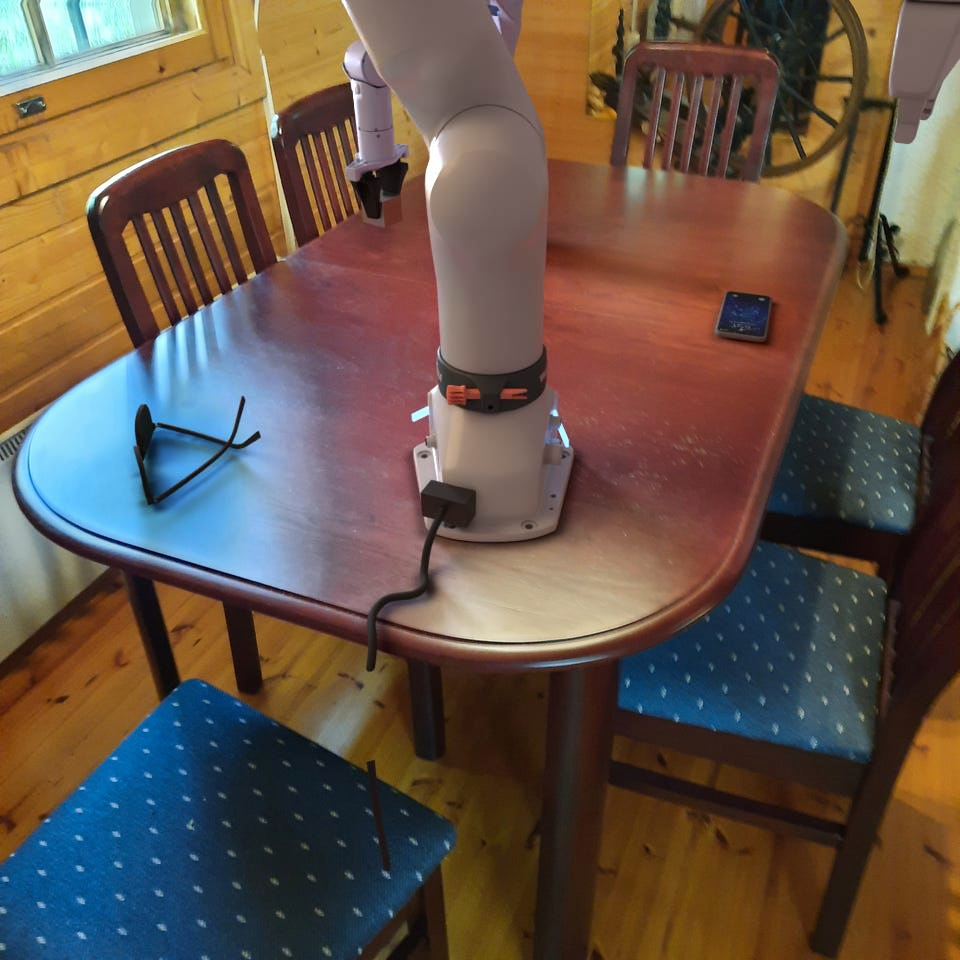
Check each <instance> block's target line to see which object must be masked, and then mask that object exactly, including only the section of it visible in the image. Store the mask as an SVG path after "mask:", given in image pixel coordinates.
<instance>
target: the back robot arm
mask: <svg viewBox="0 0 960 960" xmlns="http://www.w3.org/2000/svg"><path fill="white" fill-rule="evenodd" d="M524 1H525V0H486V3H487V5H488V8H489V10H490V12H491V15H492V17H493V19H494V21H495V23H496V25H497V28H498V30H499V32H500V34H501V36H502V38H503V40H504V42H505V44H506V46H507V48H508V50H509V53H510V55H511V57H512V59H513V60H514V56H515V53H516V50H517V45H518V42H519V39H520V35H521V30H522V8H523V5H524ZM341 66H342V67H341V68H342V70H343V72H344V74H345V75H346V77H347V78H348V79H349V81H350V86H351V87H350V88H351V91H352V96H353V103H354V104H353V105H354V114H355V116H354V117H355V124H356V132H357V134H356V135H357V142H358V143H357V145H358V151H357V152H356V153H354V157H355V159H354V160H353V161H352V162H351V163H350V164H349V165H347V166H345V167H344V171H345V180H346V181H349V183H350V184H351V185H352V187H353V188H354V190H355V192H356V193H357V195H358V197H359V199H360V202H361V201H362V204H363V207H364V209H365V212H366V215H367V218H371V219H379V217H380V193H381V190H384V191H389V192H393V193H397V194H401V193H402V187H403V184H404V181H405V178H406V175H407V173H408V171H409V163H408V162H405V161H402V159H407V158H410V148H409V144H405V143H395V142H396V141H395V129H394V115H393V106H392V105H393V104H392V92H391V91H392V90H391V88H390V87H389V86H388V85H387V84H386V83H385V82H384V81H383V80H382V79H381V77H380V76H379V75H378V73H377V71H376V69H375V67H374V65H373V63H372V61H371V59H370V57H369V55H368V53H367V51H366V49H365V47H364V45H363V43H362V41H361V39H358V40H354V41H353V42H352V43H350V44H349V46H348V47H347V49H346V51H345V55H344V61H342V62H341ZM375 171H376V172H377V175H378V176H376V174H375V173H374V172H375Z"/></svg>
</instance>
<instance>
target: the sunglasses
mask: <svg viewBox="0 0 960 960" xmlns="http://www.w3.org/2000/svg"><path fill="white" fill-rule="evenodd" d="M245 404H246V398H245V396H244V395H241V396H240V401H239V405H238V408H237V409H238V410H237V413H236V417H235V421H234V425H233V429H232V432H231V435H230V437H229V439H228V440H227V441H226V440H223V439H220V438H217V437H214V436H211V435H208V434H204V433H201V432H198V431H195V430H192V429H188V428H184V427H180V426H176V425H172V424H169V423H164V422H159V421H157V422H153V418H152V414H151V411H150V408H149V406H148V404H146V403H142V404H140V405H139V406H138V409H137V411H136V413H135V418H134V436H135V444H136V445H133V447H132V448H133V452H134V455H135V460H136V463H137V467H138V471H139V475H140V479H141V485H142V489H143V493H144V497H145V500H146V503H147V505H148V506H151V505H154V504H155V501H156V503H157V504H160V503H162V501H164V500H165V499H167V498H168V497H170V496H171V495H172V494H174V493H175V492H177V491H178V490H179V489H181V488H182V487H184V486H185V485H187V484H188V483H189V482H191V481H192V480H193V479H194V478H196V477H197V476H198V475H200V474H202V473H203V472H204V471H205V470H206V469H208V467H210V466H211V465H212V464H213V463H215V462H216V461H217V460H218V459H220V457H222V455H223V454H224V453H225V452H226V451H228V449H229V448H231V449H233V450H242V449H246V448H247V447H249V446H250V445H252V444H254V443H255V442H256V441H258V440H260V439H261V438H262V435H261V432H260V430H256V431H255V432H254V433H253V434H252V435H250V436H249V437H248V438H247V439H246V440H245V441H244V442H241V443H233V442H234V441H235V438H236V435H237V434H238V429H239V426H240V423H241V419H242V415H243V412H244V409H245ZM157 428H160V429H164V430H168V431H172V432H175V433H179V434H183V435H188V436H191V437H195V438H199V439H202V440H205V441H209V442H211V443H215V444H218V445H221V446H223V447H221V449H220V450H219V451H217V452H216V453H215V454H214V455H213V456H212V457H211V458H209V459H208V460H207V461H206V462H204V463H203V464H202V465H200V466H199V467H198V468H196V469H195V470H193V471H192V472H191V473H189V474H188V475H187V476H186V477H184V478H183V479H180V481H178V482H177V483H176V484H174V485H172V486H171V487H169V488H168V489H166V490H165V491H163V492H162V493H161V494H160V495H158V496H157V497H154V495H152V491H151V487H150V484H149V479H148V474H147V470H146V467H145V463H144V461H145V459H146V456H147V453H148V450H149V448H150V445H151V442H152V438H153V435H154V432H155V430H157Z"/></svg>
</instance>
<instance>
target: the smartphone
mask: <svg viewBox="0 0 960 960" xmlns="http://www.w3.org/2000/svg"><path fill="white" fill-rule="evenodd" d="M773 302H774V301H773V298H772V297H771V296H769V295H763V294H756V293H749V292H743V291H734V290H729V291H726V292H725V293H724V295H723V299H722V301H721V306H720V310H719V312H718V317H717V319H716V322H715V328H714V334H715V335H716V336H717V337H718V338H719V337H720V338H725V339H732V340H739V341H747V342H754V343H764V342H765V341H767V338H768V333H769V328H770V318H771V313H772V307H773Z"/></svg>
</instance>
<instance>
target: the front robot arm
mask: <svg viewBox="0 0 960 960" xmlns="http://www.w3.org/2000/svg"><path fill="white" fill-rule="evenodd" d="M341 2H342V4H343V6H344V8H345V10H346V12H347V14H348V16H349V19H350V21H351V22H352V25H353V27H354V28H355V31H356V33H357V35H358V37H359V40H361V41H362V43H363V45H364V47H365V49H366V51H367V53H368V55H369V57H370V59H371V61H372V63H373V65H374V67H375V69H376V71H377V73H378V75H379V76H380V77H381V79H382V80H383V81H384V82H385V83H386V84H387V85H388V86H389V87H390V90H391V91H392V93H393V94H394V95H395V97H396V98H397V100H398V101H399V103H400V104H401V106H402V107H403V108H404V110H405V112H406V114H407V115H408V116H409V118H410V120H411V121H412V122H413V124H414V126H415V127H416V129H417V131H418V132H419V134H420V136H421V137H422V139H423V142H424V144H425V146H426V149H427V151H428V155H429V161H428V164H427V167H426V171H425V176H424V193H425V203H426V214H427V221H428V222H427V223H428V232H429V239H430V247H431V254H432V255H431V256H432V261H433V267H434V273H435V280H436V287H437V288H436V290H437V307H438V327H439V342H440V343H439V344H440V345H439V346H438V348H437V354H436V356H437V358H436V363H435V364H436V376H437V384H436V385H435V387H434V386H433V388H432V389H431V390H430V391H428V392H427V406H424V407H423V408H421V409H419V410H417V411H415V412H413V413H411V421H412V422H416V421H418V420H420V419H423V418H424V417H426V416H428V424H429V435H426V436H425V438H424V442H422V443H419V444H417V445H416V446H415V447H414V448H413V454H412V455H413V457H412V458H413V464H414V470H415V475H416V476H415V477H416V480H417V487H418V492H419V498H420V499H419V500H420V506H421V516H422V517H423V522H424V526H425V529H426V530H427V531H428V532H427V534H426V537H425V540H424V543H423V547H422V553H421V559H420V566H419V579H420V585H419V586H418V587H417V588H414V589H412V590H409V591H407V590H406V591H400V592H399V591H398V592H392V593H388V594H385V595H383V596H381V597H380V598H379V599H378V600H377V601H376V602H375V603H374V604H373V605H372V606H371V608H370V610H369V612H368V615H367V618H366V631H367V655H366V656H367V657H366V665H365V670H366V672H368V673H372V672H373V671H375V669H376V664H377V657H378V656H377V655H378V636H377V633H378V632H377V617H378V614H379V613H380V612H381V611H382V610H383V608H384V607H385V606H387V605H388V604H390V603H394V602H401V601H409V600H414V599H418V598H419V597H421V596H423V595H424V594H425V593H426V592H427V591H428V589H429V586H430V579H429V566H430V559H431V552H432V548H433V544H434V541H435V538H436V535H437V536H440V537H443V538H448V539H452V540H457V541H466V542H477V543H478V542H480V543H500V542H501V543H502V542H503V543H506V542H518V541H527V540H531V539H536V538H539V537H543V536H546V535H548V534H550V533H552V532H554V531H556V530H557V527H558V525H559V520H560V518H561V517H560V516H561V512H562V508H563V504H564V500H565V497H566V492H567V488H568V483H569V480H570V476H571V472H572V469H573V468H572V467H573V464H574V459H575V450H574V447H573V446H571V445H570V439H569V438H568V435H567V433H566V430H565V428H564V426H563V424H562V416H559V392H557V391H556V390H555V389H554V388H553V387H552V386H551V385H550V384H549V383H548V382H547V379H548V367H549V361H548V356H547V355H548V354H547V353H548V351H547V347H546V345H545V344H544V323H545V322H544V321H545V287H546V286H545V284H546V283H545V282H546V281H545V280H546V263H547V240H548V216H549V194H550V193H549V192H550V191H549V190H550V189H549V188H550V185H549V184H550V183H549V168H548V167H549V166H548V165H549V164H548V157H547V141H546V140H547V139H546V134H545V131H544V130H545V129H544V127H543V125H542V121H541V120H540V118H539V114H538V113H537V110H536V108H535V106H534V103H533V101H532V99H531V97H530V94H529V92H528V90H527V87H526V85H525V83H524V80H523V79H522V77H521V74H520V72H519V70H518V67H517V66H516V63H515V61H514V58H513V59H512V57H511V55H510V53H509V50H508V48H507V46H506V44H505V42H504V40H503V38H502V36H501V34H500V32H499V30H498V28H497V25H496V23H495V21H494V19H493V17H492V15H491V12H490V10H489V8H488V5H487V3H486V0H341ZM896 26H897V27H896V33H895V39H894V45H893V50H892V51H893V52H892V57H891V62H890V70H889V75H888V76H889V77H888V94H889V97H890V98H893V99H898V100H899V102H898V105H897V115H896V116H897V117H896V123H895V129H894V133H893V136H892V139H893V142H895V144H901V145H910V144H912V143H913V142H914V140H915V139H916V137H917V134H918V130H919V127H920V123H921V121H927V120H928V119H929V118H930V117H931V116H932V114H933V111H934V108H935V105H936V101H937V98H938V96H939V94H940V91H941V88H942V86H943V84H944V81H945V80H946V78H947V77H948V76H949V74H950V73H951V72H952V71H953V70H954V68H955V66H956V65H957V64H958V62H959V61H960V0H904V1H903V2H902V4H901V8H900V11H899V17H898V21H897V25H896ZM558 433H559V434H560V437H561V439H562V441H561V439H560V438H558ZM366 770H367V772H366V773H367V781H368V788H369V795H370V802H371V809H372V814H373V821H374V825H375V831H376V836H377V842H378V848H379V852H380V858H381V862H382V868H383V867H384V868H383V871H384V870H386V871H389V870H390V869H391V870H392V865H391V859H390V854H389V849H388V848H389V847H388V842H387V838H386V831H385V827H384V820H383V815H382V814H383V813H382V808H381V802H380V801H381V800H380V794H379V785H378V778H377V777H378V776H377V768H376V759H372V760H367V761H366Z"/></svg>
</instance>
